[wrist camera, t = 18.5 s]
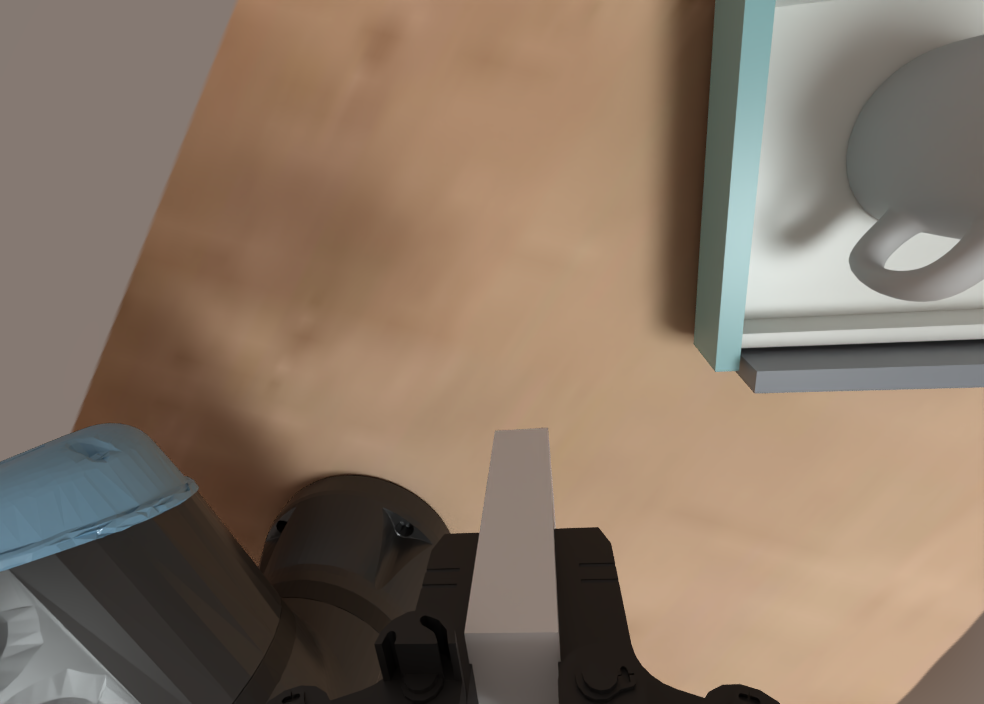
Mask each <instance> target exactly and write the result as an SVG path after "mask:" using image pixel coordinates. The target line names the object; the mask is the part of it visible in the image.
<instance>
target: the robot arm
mask: <svg viewBox="0 0 984 704" xmlns="http://www.w3.org/2000/svg"><path fill="white" fill-rule="evenodd" d="M198 489H199V486H198V485H197V484H196V483H195V481H194V480H192V479H191V478H189V477H187V476H184V475H183V474H182V473H181V472H180V470H179V469H178V468H177V467H176V466H175V465H174V464H173V463H172V461H171V460H170V459H169V458H168V457H167V456H166V455H165V454H164V453H163V451H162V450H161V449H160V448H159V447H158V446H157V445H156V444H155V442H154V441H153V440H152V439H151V438H150V437H149V436H148V435H147V434H145V433H144V432H143V431H141V430H140V429H138V428H135V427H133V426H130V425H125V424H119V423H105V424H98V425H94V426H90V427H87V428H84V429H81V430H78V431H76V432H73V433H70V434H68V435H65V436H62V437H60V438H57V439H55V440H52V441H50V442H47V443H45V444H42V445H40V446H38V447H35V448H32V449H30V450H28V451H25V452H23V453H20V454H18V455H15V456H13V457H11V458H8V459H6V460H3V461H1V462H0V704H780V703H779V702H778V701H776V700H775V699H773V698H771V697H770V696H768V695H767V694H765V693H763V692H762V691H760V690H758V689H754V688H751V687H748V686H744V685H741V684H732V685H721V686H719V687H717V688H715V689H713V690H712V691H710V692H708V694H707V696H706V697H705V698H703V697H700V696H696V695H693V694H690V693H687V692H684V691H681V690H678V689H675V688H673V687H670V686H668V685H666V684H663V683H662V682H660V681H659V680H658V679H656V678H655V677H653V676H652V675H651V674H650V673H649V672H648V671H647V670H646V669H645V668H644V667H643V666H642V665H641V664H640V662H639V660H638V659H637V657H636V656H635V653H634V651H633V648H632V645H631V640H630V635H629V630H628V625H627V620H626V615H625V610H624V605H623V601H622V596H621V591H620V586H619V582H618V576H617V571H616V566H615V561H614V556H613V551H612V546H611V543H610V542H609V540H608V539H607V538H606V536H605V535H604V534H603V533H602V531H601V530H600V529H599V528H598V527H593V528H563V529H556V527H555V510H554V497H553V484H552V471H551V459H550V446H549V434H548V428H535V429H517V430H499V431H495V434H494V441H493V447H492V454H491V461H490V467H489V474H488V480H487V487H486V493H485V500H484V507H483V513H482V520H481V526H480V533H457V534H450V533H449V531H448V529H447V527H446V526H445V524H444V523H443V521H442V520H441V519H440V517H439V516H438V515H437V514H436V513H435V512H434V511H433V510H432V509H431V508H430V507H429V506H428V505H427V504H426V503H425V502H424V501H422V500H421V499H420V498H418V497H417V496H415V495H414V494H412V493H411V492H409V491H407V490H405V489H403V488H401V487H399V486H397V485H394V484H392V483H389V482H386V481H383V480H380V479H376V478H371V477H365V476H351V475H348V476H335V477H330V478H326V479H322V480H319V481H316V482H314V483H312V484H310V485H308V486H306V487H305V488H303V489H301V490H300V491H299V492H298V493H296V494H295V495H294V496H293V497H292V498H291V500H290V501H289V502H288V503H287V505H286V506H285V507H284V508H283V510H282V511H281V512H280V514H279V515H278V516H277V518H276V519H275V521H274V522H273V524H272V526H271V528H270V530H269V532H268V535H267V538H266V542H265V545H264V548H263V552H262V556H261V559H260V563H259V566H258V567H257V566H256V564H255V563H254V562H253V561H252V559H251V558H250V557H249V556H248V554H247V553H246V552H245V550H244V549H243V548H242V547H241V545H240V544H239V543H238V542H237V540H236V539H235V538H234V537H233V535H232V534H231V533H230V532H229V530H228V529H227V528H226V526H225V525H224V524H223V523H222V521H221V520H220V519H219V518H218V516H217V515H216V514H215V513H214V511H213V510H212V509H211V508H210V506H209V505H208V504H207V502H206V501H205V500H204V499H203V497H202V496H201V495H200V494H199V492H198V491H197V490H198Z"/></svg>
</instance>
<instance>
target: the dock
mask: <svg viewBox="0 0 984 704" xmlns="http://www.w3.org/2000/svg"><path fill="white" fill-rule="evenodd" d="M736 373H737V374H738V375H739V376H740V377H741V378H742V379H743V381H744V382H745V383H746V384H747V385H748V386H749V387H750V389H751V390H752V391H753V392H754V393H784V392H822V391H860V390H897V389H935V388H972V387H984V339H969V340H942V341H916V342H890V343H863V344H837V345H811V346H784V347H758V348H741V355H740V365H739V371H736Z"/></svg>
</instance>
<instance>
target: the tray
mask: <svg viewBox="0 0 984 704" xmlns="http://www.w3.org/2000/svg"><path fill="white" fill-rule="evenodd" d="M980 35H984V0H715V14H714V30H713V46H712V62H711V78H710V94H709V109H708V125H707V141H706V157H705V173H704V189H703V204H702V220H701V236H700V252H699V268H698V283H697V299H696V315H695V331H694V345H695V346H696V348H697V349H698V350H699V351H700V353H701V354H702V355H703V357H704V358H705V359H706V360H707V362H708V363H709V364H710V366H711V367H712V368H713V369H714V371H715V372H721V371H739V365H740V355H741V348H758V347H784V346H811V345H837V344H863V343H890V342H916V341H942V340H969V339H984V279H983V280H982V281H980V282H979V283H977V284H976V285H974V286H972V287H971V288H969V289H967V290H965V291H964V292H961V293H959V294H957V295H954V296H952V297H949V298H946V299H942V300H938V301H929V302H913V301H905V300H900V299H895V298H892V297H889V296H886V295H883V294H880V293H878V292H876V291H874V290H872V289H870V288H869V287H867V286H866V285H865V284H863V283H862V282H861V281H859V280H858V279H857V277H856V276H855V275H854V274H853V272H852V271H851V268H850V265H849V256H850V253H851V251H852V249H853V248H854V246H855V245H856V244H857V242H858V241H859V240H860V239H861V238H862V236H863V235H864V234H865V233H866V232H867V231H868V230H869V229H870V228H871V227H872V226H873V225H874V224H875V223H876V222H877V221H878V219H876V218H875V217H873V216H872V215H871V214H869V213H868V212H867V211H866V210H865V209H864V208H863V207H862V206H861V205H860V204H859V202H858V201H857V199H856V198H855V196H854V194H853V192H852V190H851V188H850V185H849V181H848V177H847V169H846V154H847V148H848V142H849V139H850V135H851V132H852V129H853V127H854V124H855V122H856V120H857V118H858V116H859V114H860V112H861V111H862V109H863V107H864V105H865V104H866V103H867V101H868V100H869V98H870V97H871V96H872V94H873V93H874V92H875V91H876V90H877V89H878V88H879V86H880V85H881V84H882V83H883V82H884V81H885V80H886V79H888V78H889V77H890V76H891V75H892V74H893V73H894V72H896V71H897V70H898V69H900V68H901V67H902V66H904V65H905V64H907V63H908V62H910V61H911V60H913V59H915V58H916V57H918V56H920V55H922V54H924V53H926V52H928V51H930V50H933V49H935V48H938V47H941V46H944V45H947V44H949V43H953V42H956V41H960V40H964V39H968V38H972V37H976V36H980ZM960 240H961V239H955V238H949V237H943V236H938V235H933V234H928V233H922V232H921V233H918V234H916V235H915V236H913V237H912V238H910V239H909V240H908V241H906V242H905V243H904V244H902V245H901V246H900V247H899V248H898V249H897V250H896V251H895V252H893V253H892V255H891V256H890V257H889V258H888V260H887V261H886V263H885V266H884V268H885V269H889V270H895V271H909V270H915V269H919V268H922V267H924V266H927V265H929V264H931V263H933V262H935V261H936V260H938V259H939V258H941V257H942V256H943V255H945V254H946V253H947V252H948V251H950V250H951V249H952V248H953V247H954V246H955V245H956V244H957V243H958V242H959V241H960Z"/></svg>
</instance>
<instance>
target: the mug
mask: <svg viewBox="0 0 984 704" xmlns="http://www.w3.org/2000/svg"><path fill="white" fill-rule="evenodd" d="M846 169H847V177H848V181H849V185H850V188H851V190H852V192H853V194H854V196H855V198H856V199H857V201H858V202H859V204H860V205H861V206H862V207H863V208H864V209H865V210H866V211H867V212H868V213H869V214H871V215H872V216H873V217H875V218H876V219H878V221H877V222H876V223H875V224H874V225H873V226H872V227H871V228H870V229H869V230H868V231H867V232H866V233H865V234H864V235H863V236H862V238H861V239H860V240H859V241H858V242H857V244H856V245H855V246H854V248H853V249H852V251H851V253H850V256H849V265H850V268H851V271H852V272H853V274H854V275H855V276H856V277H857V279H858V280H859V281H861V282H862V283H863V284H865V285H866V286H867V287H869V288H870V289H872V290H874V291H876V292H878V293H880V294H883V295H886V296H889V297H892V298H895V299H900V300H905V301H913V302H929V301H938V300H942V299H946V298H949V297H952V296H954V295H957V294H959V293H961V292H964V291H965V290H967V289H969V288H971V287H972V286H974V285H976V284H977V283H979V282H980V281H982V280H983V279H984V35H980V36H976V37H972V38H968V39H964V40H960V41H956V42H953V43H949V44H947V45H944V46H941V47H938V48H935V49H933V50H930V51H928V52H926V53H924V54H922V55H920V56H918V57H916V58H915V59H913V60H911V61H910V62H908V63H907V64H905V65H904V66H902V67H901V68H900V69H898V70H897V71H896V72H894V73H893V74H892V75H891V76H890V77H889V78H888V79H886V80H885V81H884V82H883V83H882V84H881V85H880V86H879V88H878V89H877V90H876V91H875V92H874V93H873V94H872V96H871V97H870V98H869V100H868V101H867V103H866V104H865V105H864V107H863V109H862V111H861V112H860V114H859V116H858V118H857V120H856V122H855V124H854V127H853V129H852V132H851V135H850V139H849V142H848V148H847V154H846ZM921 232H922V233H928V234H933V235H938V236H943V237H949V238H955V239H961V240H960V241H959V242H958V243H957V244H956V245H955V246H954V247H953V248H952V249H951V250H950V251H948V252H947V253H946V254H945V255H943V256H942V257H941V258H939V259H938V260H936V261H935V262H933V263H931V264H929V265H927V266H924V267H922V268H919V269H915V270H909V271H895V270H889V269H885V268H884V266H885V263H886V261H887V260H888V258H889V257H890V256H891V255H892V253H893V252H895V251H896V250H897V249H898V248H899V247H900V246H901V245H902V244H904V243H905V242H906V241H908V240H909V239H910V238H912V237H913V236H915V235H916V234H918V233H921Z"/></svg>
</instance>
